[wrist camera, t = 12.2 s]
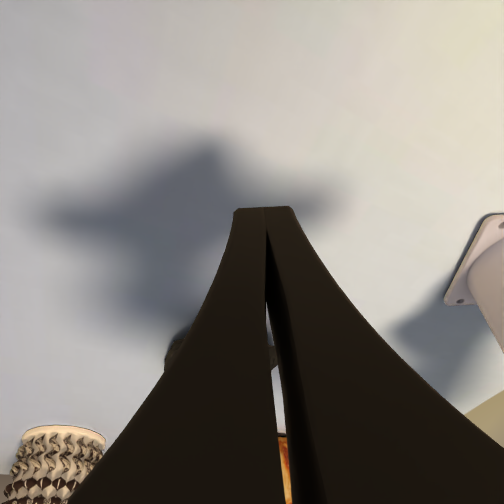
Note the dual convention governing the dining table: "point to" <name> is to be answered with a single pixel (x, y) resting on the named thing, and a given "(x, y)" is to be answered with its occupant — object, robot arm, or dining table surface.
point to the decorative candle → (52, 464)
